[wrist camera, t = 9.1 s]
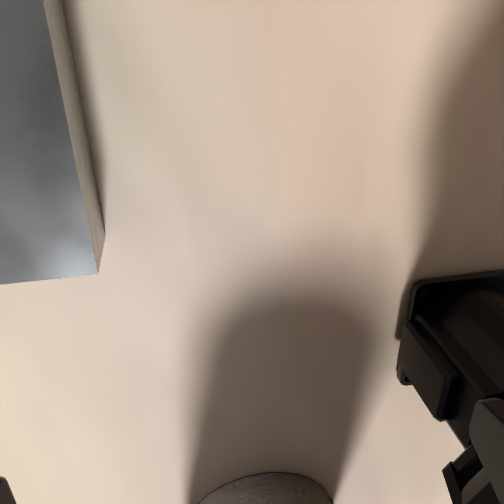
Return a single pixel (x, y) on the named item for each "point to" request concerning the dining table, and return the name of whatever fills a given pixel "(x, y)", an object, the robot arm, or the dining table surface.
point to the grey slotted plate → (43, 151)
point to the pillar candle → (270, 491)
